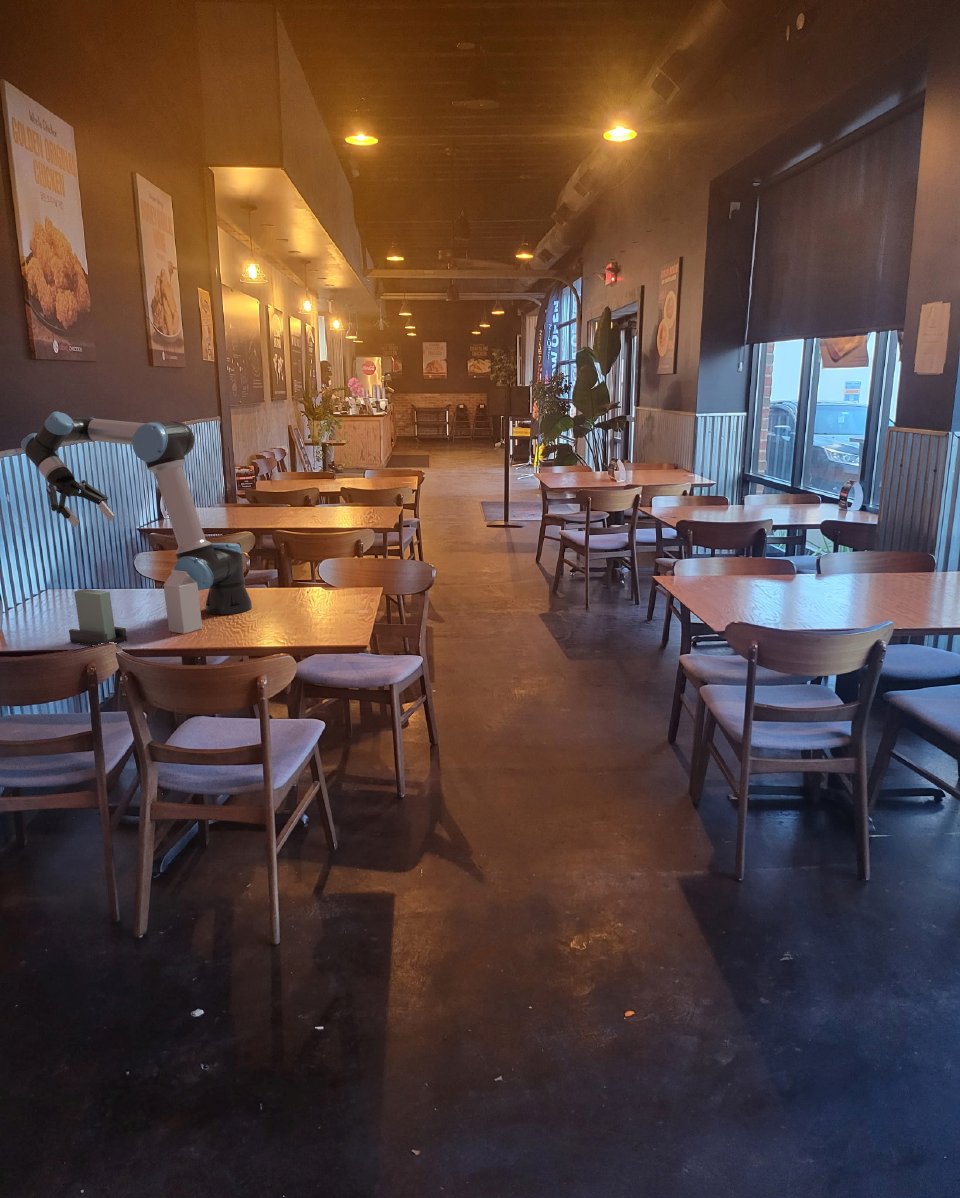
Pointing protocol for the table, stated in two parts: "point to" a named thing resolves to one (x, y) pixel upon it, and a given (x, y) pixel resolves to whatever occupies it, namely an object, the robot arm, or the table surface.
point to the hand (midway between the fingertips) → (94, 521)
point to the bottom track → (96, 637)
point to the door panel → (95, 612)
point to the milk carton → (182, 603)
